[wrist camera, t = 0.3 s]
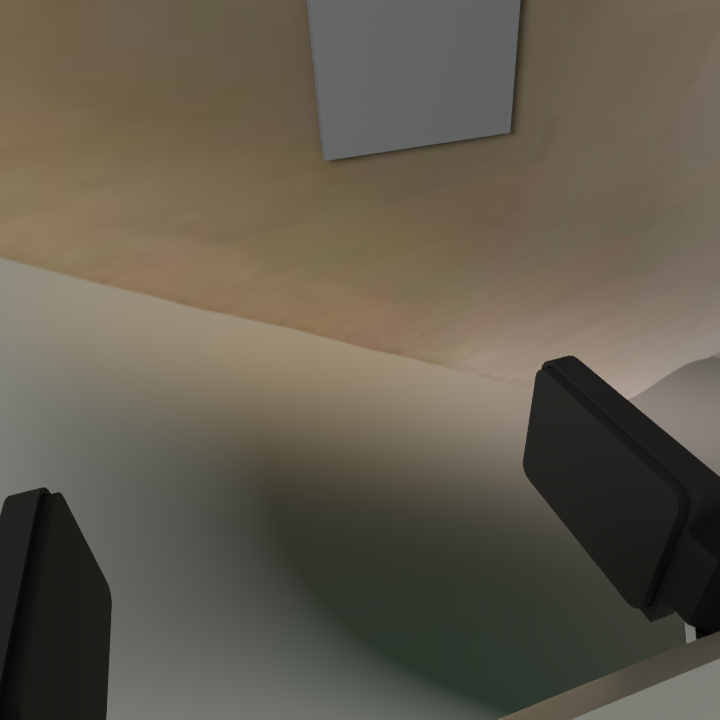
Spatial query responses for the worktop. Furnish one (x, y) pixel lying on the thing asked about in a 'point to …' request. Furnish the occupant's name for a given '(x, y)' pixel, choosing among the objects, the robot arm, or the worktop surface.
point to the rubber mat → (411, 72)
